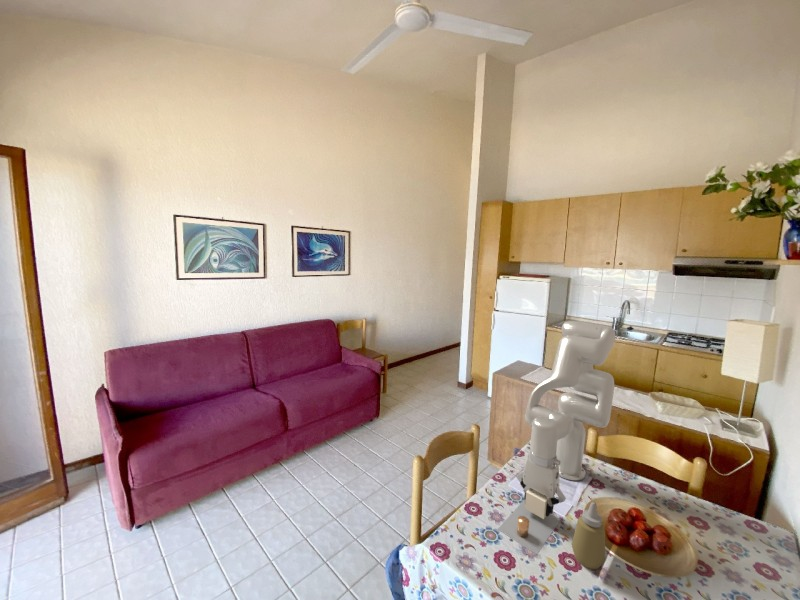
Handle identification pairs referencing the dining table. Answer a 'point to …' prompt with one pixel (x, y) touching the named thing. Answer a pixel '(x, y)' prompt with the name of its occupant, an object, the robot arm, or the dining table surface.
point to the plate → (537, 528)
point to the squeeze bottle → (589, 539)
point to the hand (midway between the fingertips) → (538, 507)
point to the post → (523, 526)
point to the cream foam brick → (536, 503)
